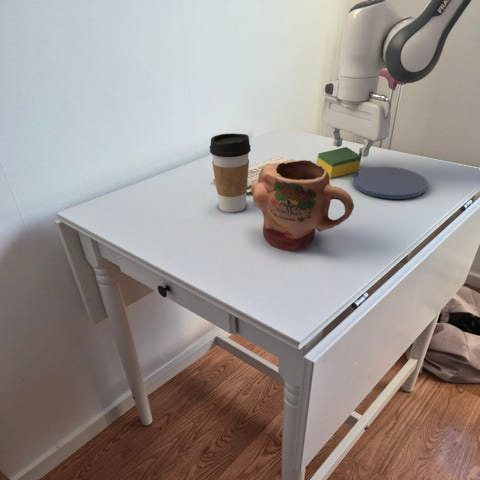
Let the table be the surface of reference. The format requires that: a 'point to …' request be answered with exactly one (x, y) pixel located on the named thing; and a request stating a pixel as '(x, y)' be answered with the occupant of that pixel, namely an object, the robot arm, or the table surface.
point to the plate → (390, 182)
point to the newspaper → (255, 170)
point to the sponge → (339, 161)
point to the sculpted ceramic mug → (296, 202)
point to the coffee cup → (231, 169)
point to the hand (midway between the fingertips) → (350, 150)
